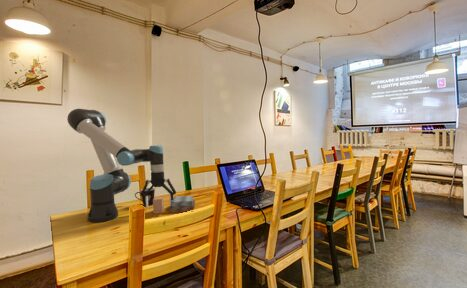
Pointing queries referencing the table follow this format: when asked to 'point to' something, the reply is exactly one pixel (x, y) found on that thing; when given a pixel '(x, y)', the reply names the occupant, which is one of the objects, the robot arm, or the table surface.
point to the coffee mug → (150, 196)
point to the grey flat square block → (182, 204)
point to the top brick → (158, 205)
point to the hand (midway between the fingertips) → (159, 206)
